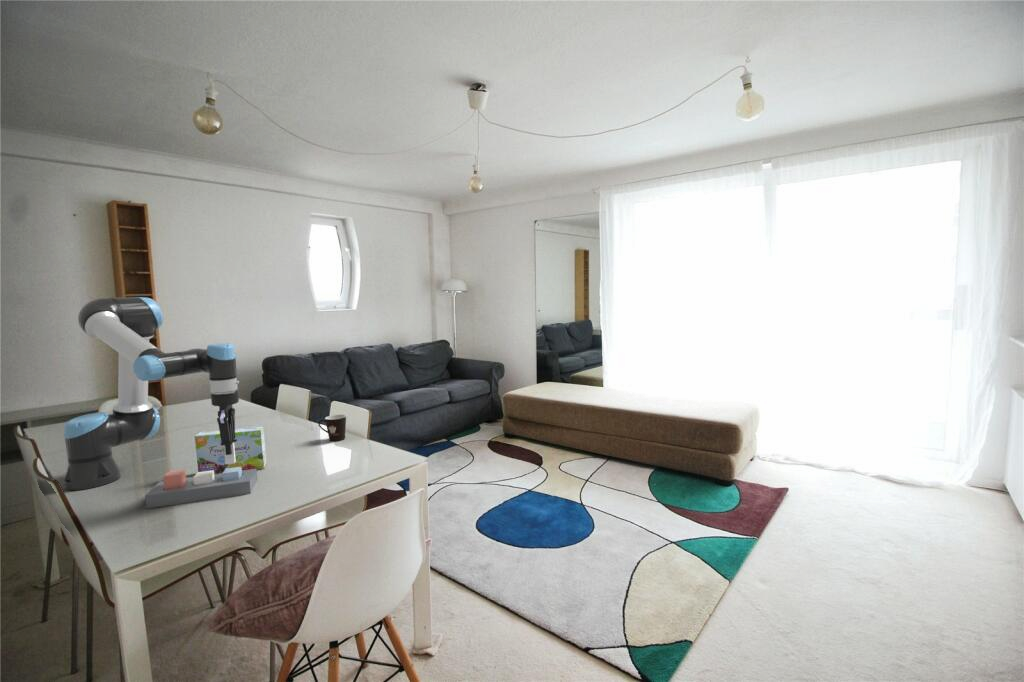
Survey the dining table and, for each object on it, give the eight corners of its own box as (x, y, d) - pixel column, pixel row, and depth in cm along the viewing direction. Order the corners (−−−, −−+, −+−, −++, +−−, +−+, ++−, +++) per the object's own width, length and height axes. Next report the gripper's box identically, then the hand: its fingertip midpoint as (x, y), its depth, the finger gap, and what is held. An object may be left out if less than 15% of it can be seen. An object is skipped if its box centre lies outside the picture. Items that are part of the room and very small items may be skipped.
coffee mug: (351, 438, 211) (350, 415, 210) (335, 443, 204) (333, 420, 203) (334, 434, 217) (333, 412, 216) (318, 439, 210) (316, 417, 209)
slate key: (223, 486, 155) (222, 473, 154) (226, 481, 159) (225, 468, 159) (239, 484, 156) (238, 471, 156) (242, 479, 160) (241, 466, 160)
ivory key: (194, 490, 152) (193, 477, 152) (198, 485, 156) (197, 472, 156) (211, 488, 154) (210, 475, 153) (215, 483, 158) (213, 470, 157)
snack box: (197, 477, 170) (193, 435, 168) (203, 471, 175) (199, 431, 174) (264, 469, 175) (260, 429, 174) (267, 464, 181) (264, 425, 179)
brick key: (164, 490, 149) (162, 476, 149) (169, 484, 154) (168, 471, 153) (181, 487, 151) (180, 474, 150) (186, 482, 155) (184, 469, 155)
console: (146, 508, 145) (145, 495, 145) (161, 493, 156) (160, 481, 156) (250, 493, 154) (249, 481, 154) (257, 479, 165) (256, 468, 165)
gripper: (233, 394, 150) (239, 468, 152) (241, 387, 162) (247, 455, 164) (205, 397, 147) (211, 471, 150) (216, 389, 160) (222, 458, 162)
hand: (230, 463), depth 157 cm, fingers closed
